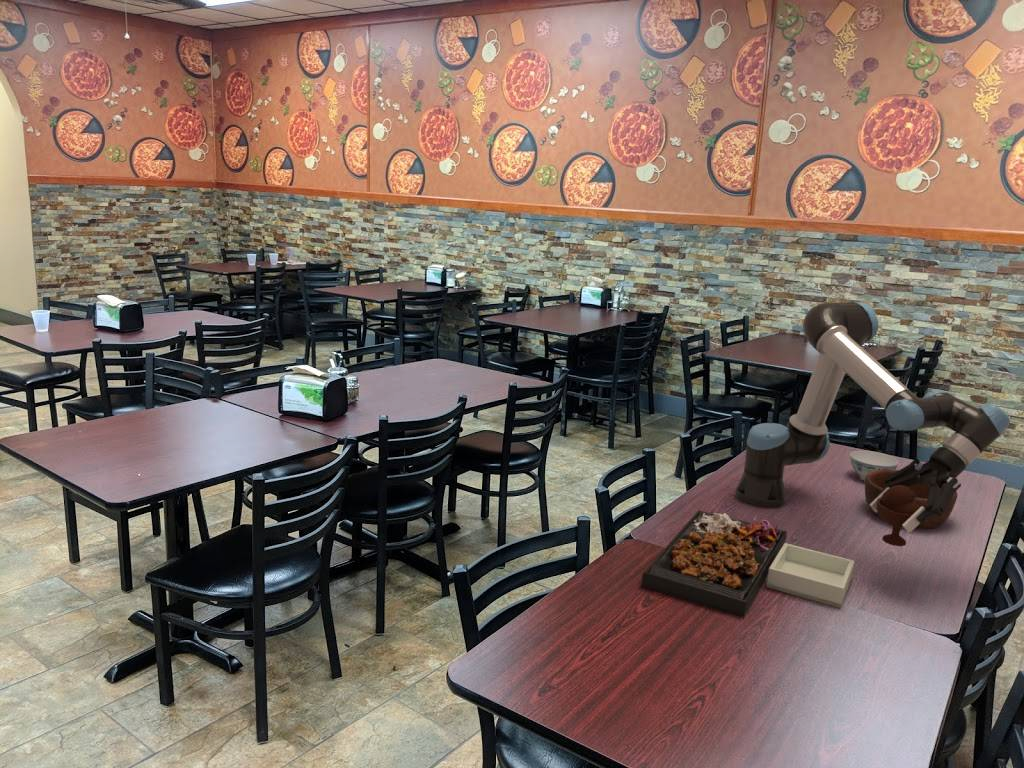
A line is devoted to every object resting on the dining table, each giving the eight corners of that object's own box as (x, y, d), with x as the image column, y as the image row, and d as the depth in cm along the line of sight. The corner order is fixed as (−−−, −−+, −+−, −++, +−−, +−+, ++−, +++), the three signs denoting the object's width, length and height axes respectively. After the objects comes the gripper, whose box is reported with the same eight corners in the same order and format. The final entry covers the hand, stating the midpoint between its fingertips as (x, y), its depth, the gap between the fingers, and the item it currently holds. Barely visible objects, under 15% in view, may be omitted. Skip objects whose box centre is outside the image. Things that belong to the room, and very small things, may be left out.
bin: (766, 587, 194) (769, 568, 193) (782, 560, 209) (784, 542, 207) (840, 608, 186) (843, 588, 185) (851, 578, 200) (854, 560, 199)
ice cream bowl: (924, 553, 192) (936, 495, 188) (875, 547, 194) (885, 490, 190) (912, 535, 202) (923, 479, 198) (865, 529, 204) (875, 474, 200)
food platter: (696, 524, 230) (700, 490, 227) (784, 546, 218) (789, 511, 216) (641, 589, 192) (644, 550, 189) (744, 619, 180) (749, 578, 178)
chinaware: (897, 478, 273) (901, 456, 271) (891, 491, 260) (895, 469, 259) (851, 468, 280) (854, 447, 279) (842, 480, 268) (846, 459, 266)
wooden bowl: (958, 539, 226) (965, 506, 224) (863, 524, 234) (869, 491, 231) (943, 507, 249) (949, 476, 247) (857, 494, 257) (862, 464, 254)
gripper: (999, 484, 185) (931, 549, 186) (925, 449, 207) (864, 508, 208) (985, 463, 183) (916, 530, 183) (912, 430, 205) (850, 490, 205)
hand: (888, 518), depth 195 cm, fingers closed on ice cream bowl, 11 cm apart
